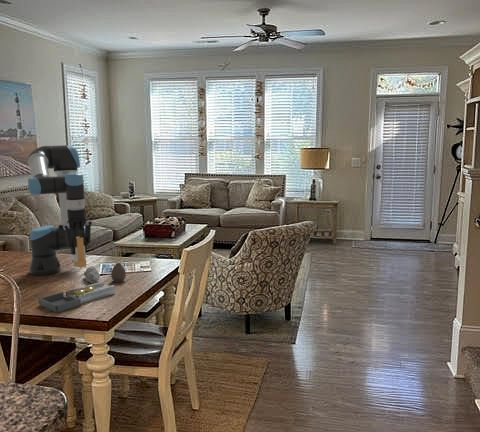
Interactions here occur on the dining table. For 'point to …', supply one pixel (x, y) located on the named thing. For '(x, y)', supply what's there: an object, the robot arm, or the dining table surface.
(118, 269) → the vase
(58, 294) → the tray
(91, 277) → the mineral specimen
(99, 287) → the slot rail
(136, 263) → the dining table surface
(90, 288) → the gold domed disc
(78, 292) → the gold domed disc
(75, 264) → the orange l-shaped bar
